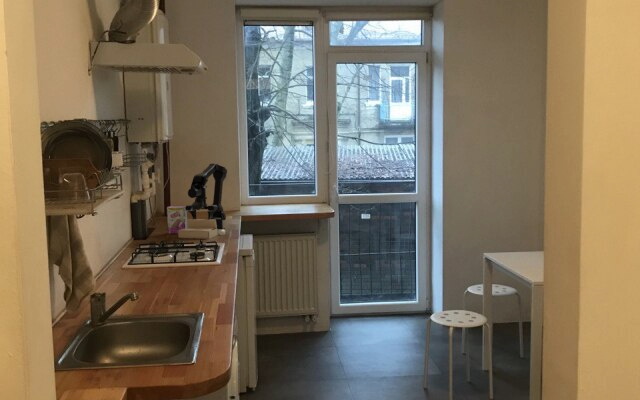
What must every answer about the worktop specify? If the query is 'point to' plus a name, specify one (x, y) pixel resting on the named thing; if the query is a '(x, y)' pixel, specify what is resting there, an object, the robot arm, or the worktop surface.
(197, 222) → the flap
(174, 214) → the candy bar box
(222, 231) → the cream dish
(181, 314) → the worktop surface
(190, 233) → the small cream bookshelf
